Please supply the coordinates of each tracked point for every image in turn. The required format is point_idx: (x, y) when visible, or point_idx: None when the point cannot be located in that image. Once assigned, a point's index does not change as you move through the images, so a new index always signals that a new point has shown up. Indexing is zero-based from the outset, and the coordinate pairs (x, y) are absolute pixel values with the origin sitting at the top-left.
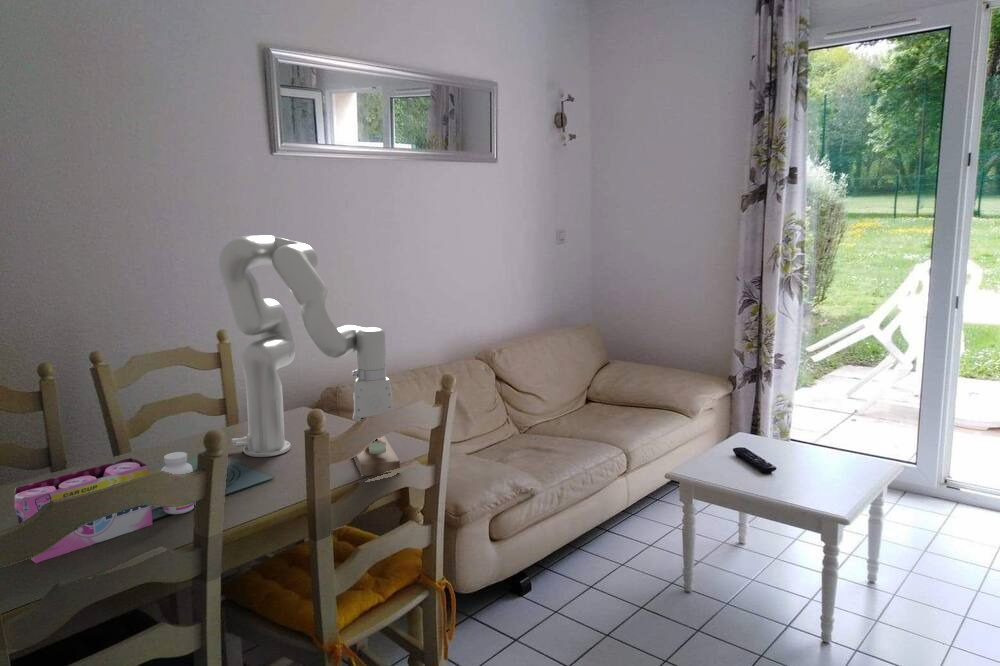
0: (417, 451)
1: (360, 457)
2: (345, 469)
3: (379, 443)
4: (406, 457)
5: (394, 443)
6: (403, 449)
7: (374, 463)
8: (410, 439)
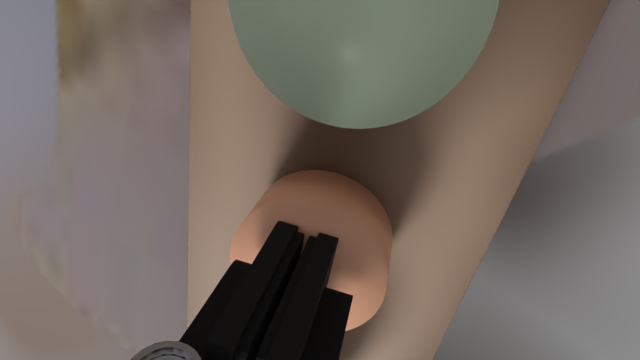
0: (68, 157)
1: (528, 96)
2: (629, 116)
3: (318, 3)
4: (140, 101)
5: (164, 315)
6: (136, 225)
7: None
8: (87, 312)
